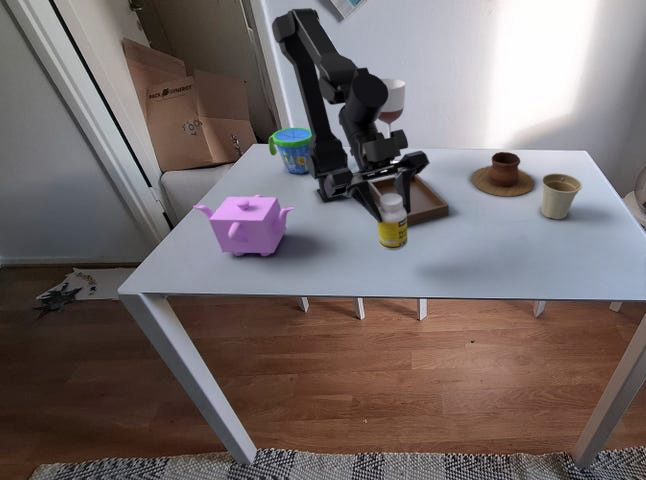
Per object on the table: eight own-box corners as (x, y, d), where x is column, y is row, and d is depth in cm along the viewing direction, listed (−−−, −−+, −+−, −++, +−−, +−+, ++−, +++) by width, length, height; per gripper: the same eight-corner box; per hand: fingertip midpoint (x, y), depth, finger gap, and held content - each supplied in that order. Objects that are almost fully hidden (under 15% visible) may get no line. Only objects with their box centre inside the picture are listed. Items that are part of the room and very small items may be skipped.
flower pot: (580, 213, 98) (589, 182, 93) (560, 228, 93) (569, 196, 87) (548, 199, 103) (554, 169, 97) (528, 213, 98) (534, 181, 92)
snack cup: (334, 165, 114) (328, 131, 107) (314, 181, 106) (306, 145, 100) (288, 157, 117) (280, 123, 111) (265, 172, 110) (255, 136, 103)
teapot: (278, 219, 92) (266, 177, 85) (305, 245, 84) (293, 202, 77) (210, 244, 84) (189, 200, 77) (232, 275, 76) (212, 230, 69)
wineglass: (414, 165, 116) (412, 82, 101) (393, 178, 109) (387, 91, 95) (390, 157, 120) (385, 76, 105) (368, 169, 113) (359, 84, 98)
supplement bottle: (403, 253, 73) (400, 208, 66) (375, 249, 74) (370, 204, 67) (411, 237, 77) (409, 193, 70) (384, 233, 78) (381, 189, 71)
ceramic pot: (547, 186, 109) (552, 162, 104) (498, 203, 101) (501, 178, 96) (505, 162, 120) (508, 139, 115) (458, 175, 112) (459, 152, 107)
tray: (368, 190, 104) (367, 181, 102) (415, 180, 109) (414, 171, 107) (397, 227, 91) (397, 218, 89) (448, 214, 96) (449, 205, 94)
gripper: (317, 124, 58) (356, 221, 59) (424, 105, 66) (457, 190, 67) (310, 154, 68) (343, 237, 69) (403, 134, 76) (432, 208, 77)
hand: (395, 217), depth 70 cm, fingers closed on supplement bottle, 5 cm apart
